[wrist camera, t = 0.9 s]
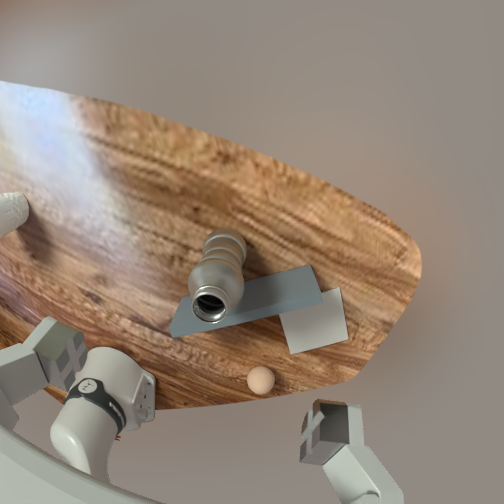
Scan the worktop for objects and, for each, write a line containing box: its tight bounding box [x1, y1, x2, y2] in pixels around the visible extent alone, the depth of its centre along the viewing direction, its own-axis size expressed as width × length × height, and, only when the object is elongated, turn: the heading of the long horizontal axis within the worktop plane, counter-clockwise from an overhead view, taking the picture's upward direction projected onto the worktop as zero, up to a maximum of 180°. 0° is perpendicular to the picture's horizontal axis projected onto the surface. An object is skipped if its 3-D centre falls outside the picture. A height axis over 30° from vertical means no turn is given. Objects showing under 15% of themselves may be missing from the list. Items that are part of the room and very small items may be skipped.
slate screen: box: [169, 264, 323, 338], centre depth 49 cm, size 6×22×10 cm, turn 106°
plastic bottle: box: [188, 228, 247, 324], centre depth 41 cm, size 6×7×20 cm
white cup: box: [0, 191, 29, 238], centre depth 44 cm, size 8×8×10 cm
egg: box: [247, 366, 275, 394], centre depth 56 cm, size 5×5×6 cm
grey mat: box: [279, 287, 348, 354], centre depth 55 cm, size 11×11×1 cm
